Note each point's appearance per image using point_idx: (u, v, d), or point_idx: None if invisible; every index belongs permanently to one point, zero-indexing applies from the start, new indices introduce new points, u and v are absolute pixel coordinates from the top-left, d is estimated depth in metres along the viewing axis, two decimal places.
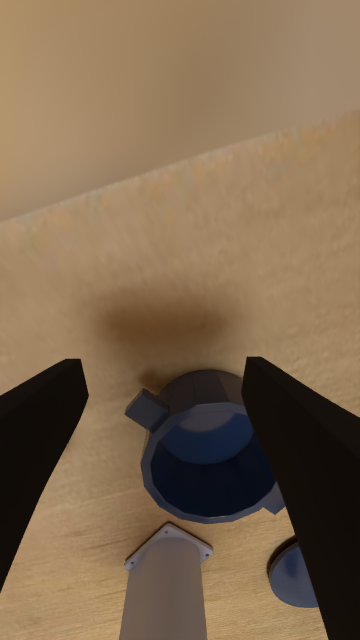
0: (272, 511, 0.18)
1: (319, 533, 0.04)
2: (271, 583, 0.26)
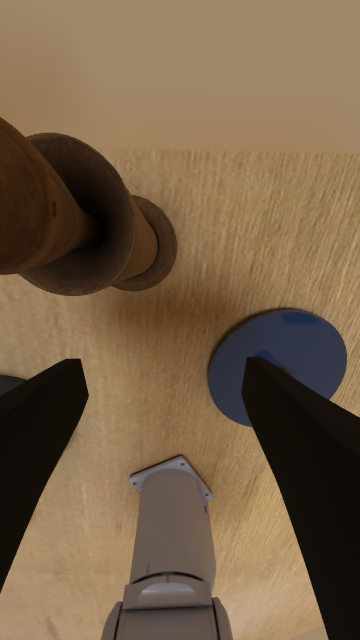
0: None
1: (319, 533, 0.04)
2: None
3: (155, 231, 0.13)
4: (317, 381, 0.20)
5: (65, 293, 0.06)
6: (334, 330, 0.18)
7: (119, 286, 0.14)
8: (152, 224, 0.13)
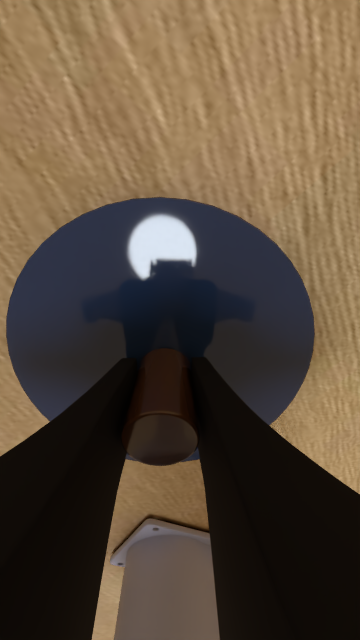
0: None
1: (217, 537, 0.04)
2: None
3: None
4: (254, 336, 0.08)
5: None
6: (195, 207, 0.06)
7: None
8: None
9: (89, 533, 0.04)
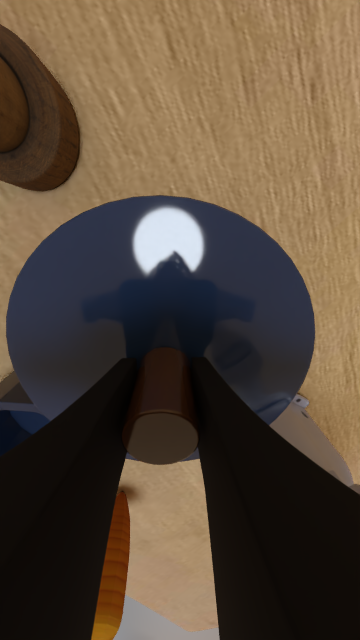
0: None
1: (216, 537, 0.04)
2: None
3: None
4: (255, 335, 0.08)
5: None
6: (196, 206, 0.06)
7: (22, 175, 0.11)
8: None
9: (89, 533, 0.04)
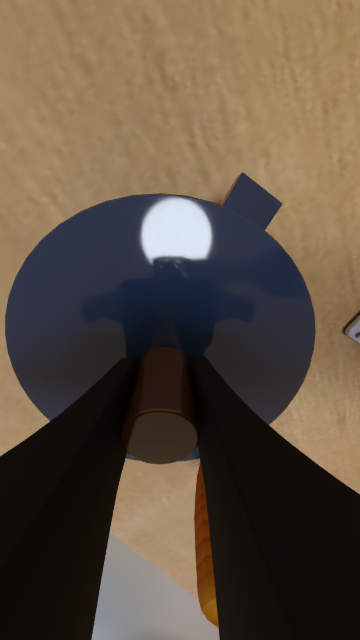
0: (272, 212, 0.09)
1: (217, 537, 0.04)
2: None
3: None
4: (255, 334, 0.08)
5: None
6: (196, 204, 0.06)
7: None
8: None
9: (89, 533, 0.04)
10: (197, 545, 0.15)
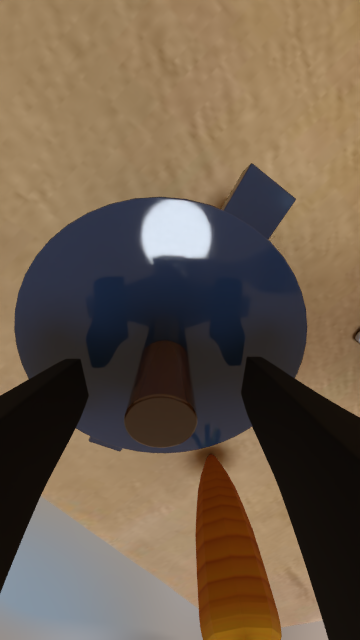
0: (284, 209, 0.08)
1: (319, 533, 0.04)
2: (204, 446, 0.12)
3: None
4: (250, 329, 0.09)
5: None
6: (193, 206, 0.07)
7: None
8: None
9: None
10: (199, 567, 0.14)
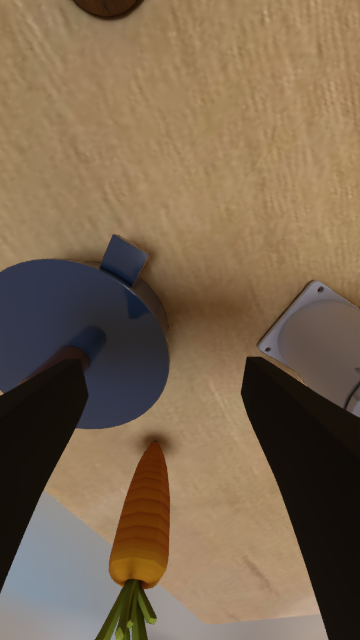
0: (141, 261, 0.12)
1: (319, 533, 0.04)
2: (115, 425, 0.16)
3: None
4: (125, 340, 0.13)
5: None
6: (69, 264, 0.11)
7: None
8: None
9: None
10: (119, 522, 0.18)
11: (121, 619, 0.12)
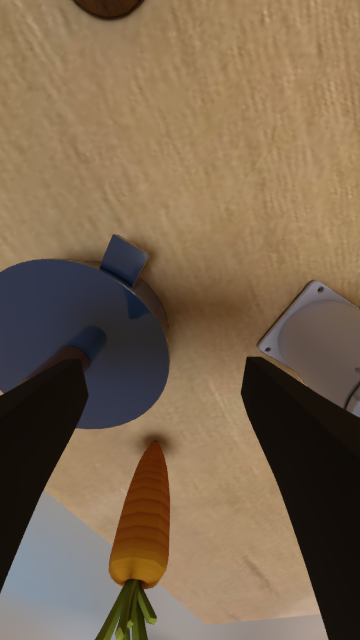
0: (141, 261, 0.12)
1: (319, 533, 0.04)
2: (115, 425, 0.16)
3: None
4: (125, 340, 0.13)
5: None
6: (69, 264, 0.11)
7: None
8: None
9: None
10: (119, 522, 0.18)
11: (121, 619, 0.12)
